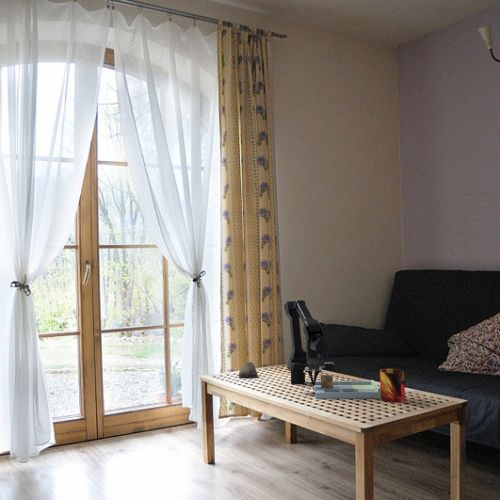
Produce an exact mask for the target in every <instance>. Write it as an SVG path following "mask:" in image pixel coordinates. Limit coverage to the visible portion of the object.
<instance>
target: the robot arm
mask: <svg viewBox="0 0 500 500" xmlns="http://www.w3.org/2000/svg"><path fill="white" fill-rule="evenodd" d="M283 308H284V311H285V316H287V318H288V320H289V327H290V337H291V338H290V339H291V349H292V350H291V352H290V354H289V360H288V361H287V365H286V368H287V371H289V372H290V384H291V385H305V383H306V373H307V374H308V376H309V378H310V381H311V385H312V387H313V386H315V382H317V378H318V377H319V376H318V375H319V373H322V372H323V370H322V369H326V370H327V371H335V370H336V369H335V368H336V367H335V363H334V362H333V361H325V360H324V358H320V355H323V354H326V353H327V351H328V349H329V348H328V347H329V346H328V344H327V342H326V341H325V340H324V339H325V332H324V330H323V328H322V325H321V324H320V322H319V321H318V320H317V319H316V318H313V316H312V313H311V312H310V310H309V309H308V307H307V304H306V301H305V300H304V299H296V300H287V301H286V302H285V303H284V305H283ZM300 320H301V321H302V323H303V327H302V331H303V334H304V336H305V338H304V339H305V341H306V344H305V345H306V349H305V350H304V349H303V344H302V343H303V342H302V341H303V340H302V332H301V323H300Z"/></svg>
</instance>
